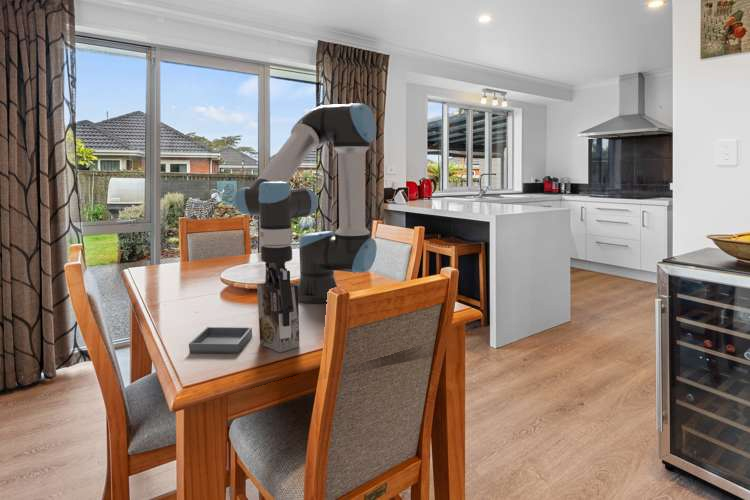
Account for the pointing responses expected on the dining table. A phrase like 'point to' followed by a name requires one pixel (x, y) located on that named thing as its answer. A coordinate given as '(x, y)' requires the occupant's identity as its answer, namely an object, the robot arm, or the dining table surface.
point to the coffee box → (276, 318)
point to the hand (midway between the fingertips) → (279, 330)
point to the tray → (221, 340)
